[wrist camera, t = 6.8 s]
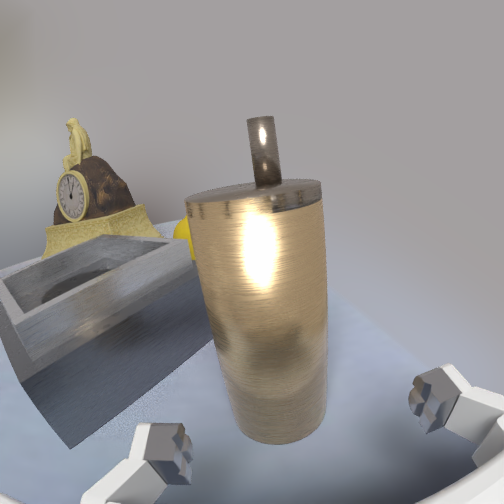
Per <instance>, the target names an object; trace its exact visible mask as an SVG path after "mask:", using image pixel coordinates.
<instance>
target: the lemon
mask: <svg viewBox="0 0 504 504" xmlns="http://www.w3.org/2000/svg"><path fill="white" fill-rule="evenodd" d="M173 239H188V244H189V249H190V254H191V259H192V260H195V255H194V250H193V245H192V240H191V235H190V230H189V224H188V219H187V215H186V217H185V218H184V219H182V220H181V221H180V222H179V223H178V224H177V226H176V227H175V230H174V234H173Z"/></svg>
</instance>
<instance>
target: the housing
mask: <svg viewBox="0 0 504 504" xmlns="http://www.w3.org/2000/svg"><path fill="white" fill-rule="evenodd" d="M0 300H1V301H0V337H1V340H2V342H3V345H4V348H5V350H6V353H7V355H8V358H9V360H10V362H11V365H12V367H13V369H14V371H15V374H16V376H17V378H18V380H19V382H20V384H21V385H22V387H23V389H24V390H25V392H26V393H27V395H28V396H29V398H30V399H31V400H32V402H33V403H34V405H35V406H36V407H37V409H38V410H39V412H40V413H41V414H42V416H43V417H44V418H45V420H46V421H47V422H48V423H49V425H50V426H51V427H52V429H53V430H54V431H55V432H56V433H57V435H58V436H59V437H60V438H61V439H62V441H63V442H64V443H65V444H66V445H67V446H68V447H69V449H71V448H73V447H74V446H75V445H77V444H78V443H80V442H81V441H82V440H84V439H85V438H86V437H88V436H89V435H91V434H92V433H93V432H95V431H96V430H97V429H99V428H100V427H101V426H103V425H104V424H105V423H107V422H108V421H109V420H111V419H112V418H113V417H115V416H116V415H117V414H119V413H120V412H121V411H123V410H124V409H125V408H126V407H128V406H129V405H130V404H132V403H133V402H134V401H136V400H137V399H138V398H139V397H141V396H142V395H143V394H145V393H146V392H147V391H148V390H150V389H151V388H152V387H153V386H155V385H156V384H157V383H158V382H160V381H161V380H162V379H163V378H165V377H166V376H167V375H168V374H170V373H171V372H172V371H173V370H175V369H176V368H177V367H178V366H180V365H181V364H182V363H183V362H185V361H186V360H187V359H188V358H189V357H191V356H192V355H193V354H194V353H195V352H197V351H198V350H199V349H200V348H201V347H203V346H204V345H205V344H206V343H207V342H209V341H210V340H211V339H212V338H213V335H212V331H211V327H210V323H209V319H208V314H207V310H206V306H205V301H204V297H203V292H202V288H201V283H200V279H199V274H198V269H197V265H196V260H192V259H191V254H190V249H189V244H188V239H173V238H157V237H141V236H125V235H108V234H103V235H100V236H97V237H95V238H92V239H90V240H87V241H85V242H82V243H80V244H77V245H75V246H72V247H70V248H68V249H65V250H63V251H61V252H58V253H56V254H53V255H51V256H49V257H47V258H44V259H42V260H40V261H37V262H35V263H33V264H31V265H29V266H26V267H24V268H22V269H20V270H18V271H16V272H13V273H11V274H9V275H7V276H5V277H3V278H1V279H0Z"/></svg>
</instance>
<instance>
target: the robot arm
mask: <svg viewBox="0 0 504 504" xmlns="http://www.w3.org/2000/svg"><path fill="white" fill-rule="evenodd" d="M413 385H414V388H413V389H412V390H411V392H410V394H409V398H408V399H409V406H410V409H411V411H412V412H413V414H414V415H416V416H419V424H420V425H421V427H422V429H423V430H424V432H425V433H426V434H428V433H430V432H433V431H435V430H437V429H439V428H441V427H443V426H444V427H445V428H446V429H448V430H450V431H452V432H454V433H455V434H457V435H459V436H461V437H463V438H465V439H467V440H468V441H470V442H472V443H474V444H476V445H478V446H479V447H478V448H477V449H476V451H475V452H474V453H473V455H472V460H473V461H474V463H475V464H476V466H477V469H476V470H474V471H472V472H471V473H469V474H468V475H466V476H465V477H463V478H461V479H460V480H458V481H456V482H455V483H453V484H451V485H450V486H448V487H446V488H444V489H442V490H441V491H439V492H437V493H435V494H433V495H431V496H429V497H427V498H425V499H423V500H421V501H419V502H417V503H415V504H504V396H503V395H500V394H496V393H494V392H491V391H487V390H484V389H482V388H479V387H473V388H472V386H471V385H470V384H469V383H468V382H467V381H466V380H465V378H464V377H463V376H462V375H461V374H460V373H459V372H458V371H457V370H456V368H455V367H454V366H453V365H452V364H450V363H447V364H445V365H443V366H441V367H438V368H435V369H432V370H430V371H428V372H425V373H423V374H420V375H418V376H416V377H415V378H414V381H413ZM192 460H193V447H192V443H191V440H190V438H189V436H188V435H186V434H185V428H184V426H183V424H182V423H139V424H138V425H137V427H136V430H135V434H134V438H133V442H132V445H131V449H130V453H129V457H128V459H123V460H122V461H121V462H120V463H119V464H118V465H117V466H115V467H114V468H113V469H112V470H111V471H110V472H109V473H107V474H106V475H105V476H104V477H103V478H102V479H101V480H99V481H98V482H97V483H96V484H95V485H93V486H92V487H91V488H90V489H89V490H87V491H86V492H85V493H84V494H83V495H82V499H81V502H80V504H154V503H155V501H156V500H157V499H158V498H159V496H160V495H161V494H162V493H163V491H164V490H165V489H166V488H167V486H168V485H191V477H192V469H191V467H190V466H189V463H190V462H191V461H192ZM0 504H25V503H22V502H20V501H18V500H16V499H14V498H13V497H11V496H9V495H7V494H4V493H0Z"/></svg>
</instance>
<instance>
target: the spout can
mask: <svg viewBox="0 0 504 504" xmlns="http://www.w3.org/2000/svg"><path fill="white" fill-rule="evenodd" d="M247 126H248V133H249V141H250V148H251V155H252V163H253V170H254V177H255V182H252V183H245V184H238V185H232V186H227V187H222V188H217V189H212V190H208V191H204V192H201V193H198V194H195V195H192V196H189V197H187V198H186V199H185V200H184V202H185V208H186V213H187V219H188V224H189V230H190V235H191V240H192V245H193V250H194V255H195V260H196V265H197V269H198V274H199V279H200V283H201V288H202V292H203V297H204V301H205V306H206V310H207V314H208V319H209V323H210V327H211V331H212V335H213V339H214V343H215V347H216V351H217V355H218V359H219V363H220V366H221V370H222V374H223V378H224V381H225V385H226V389H227V392H228V396H229V399H230V403H231V406H232V410H233V413H234V417H235V420H236V423H237V425H238V427H239V428H240V430H241V431H242V432H243V433H244V434H245V435H247V436H248V437H250V438H251V439H253V440H255V441H258V442H261V443H266V444H274V445H277V444H288V443H292V442H295V441H298V440H301V439H303V438H305V437H307V436H308V435H310V434H311V433H312V432H313V431H315V430H316V429H317V428H318V426H319V425H320V424H321V422H322V420H323V418H324V415H325V410H326V390H327V355H328V305H327V271H326V249H325V231H324V216H323V205H322V192H321V182H320V181H318V180H311V179H283V180H282V178H281V169H280V163H279V162H280V161H279V154H278V146H277V138H276V132H275V124H274V117H273V116H264V117H256V118H251V119H247Z"/></svg>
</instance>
